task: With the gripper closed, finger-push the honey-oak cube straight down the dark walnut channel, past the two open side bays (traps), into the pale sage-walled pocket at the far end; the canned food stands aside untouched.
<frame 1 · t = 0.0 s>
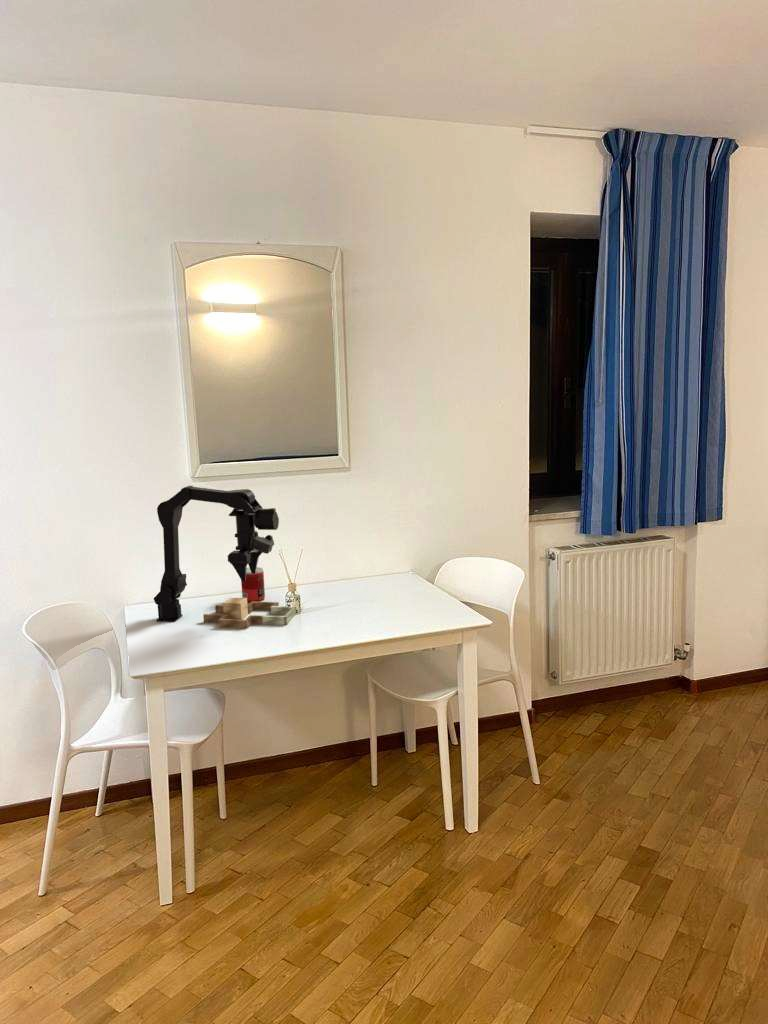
hand: (248, 577, 243), 15 cm above the table, fingers open, 9 cm apart
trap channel: (250, 618, 249), on the table
canned food: (253, 600, 269), on the table
block: (236, 618, 250), resting in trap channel
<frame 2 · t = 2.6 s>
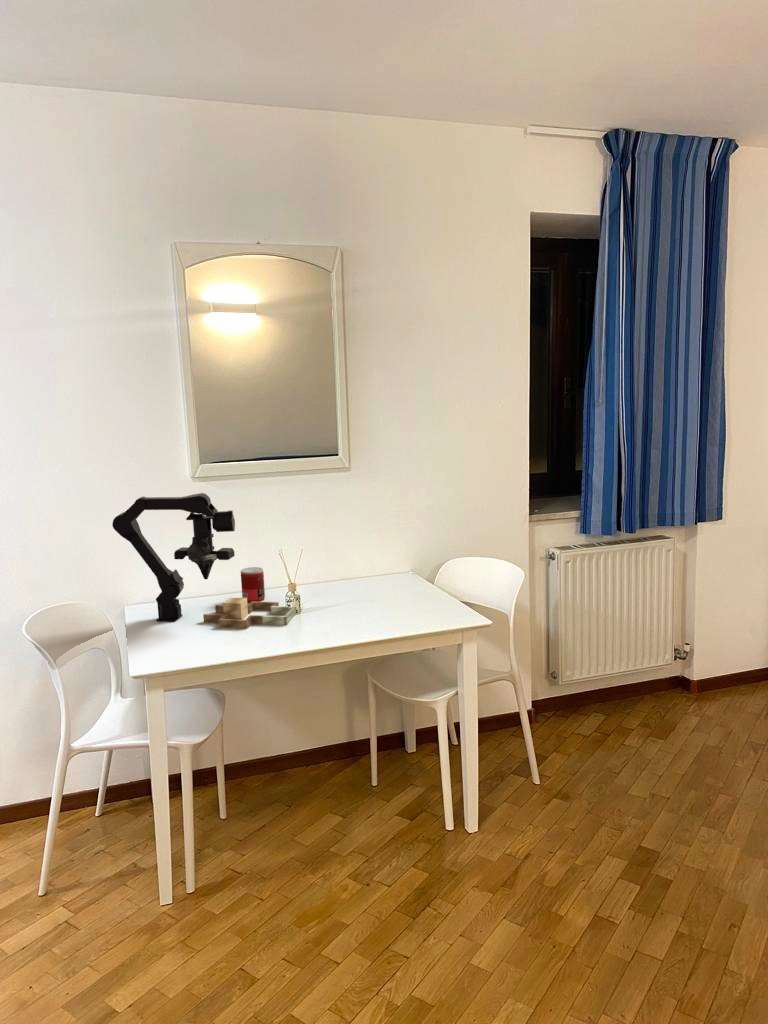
hand: (206, 579, 249), 13 cm above the table, fingers closed
nothing on the table moved.
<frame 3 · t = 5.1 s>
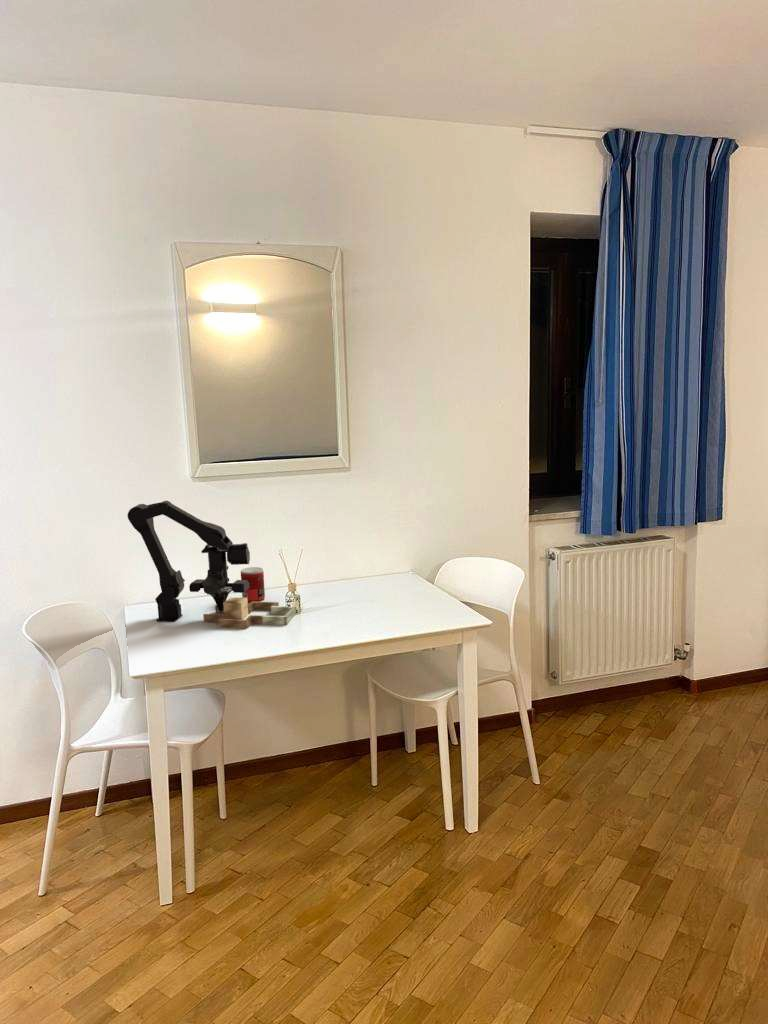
hand: (221, 611, 250), 2 cm above the table, fingers closed
block: (236, 617, 250), resting in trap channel, touching gripper
everything else where it was.
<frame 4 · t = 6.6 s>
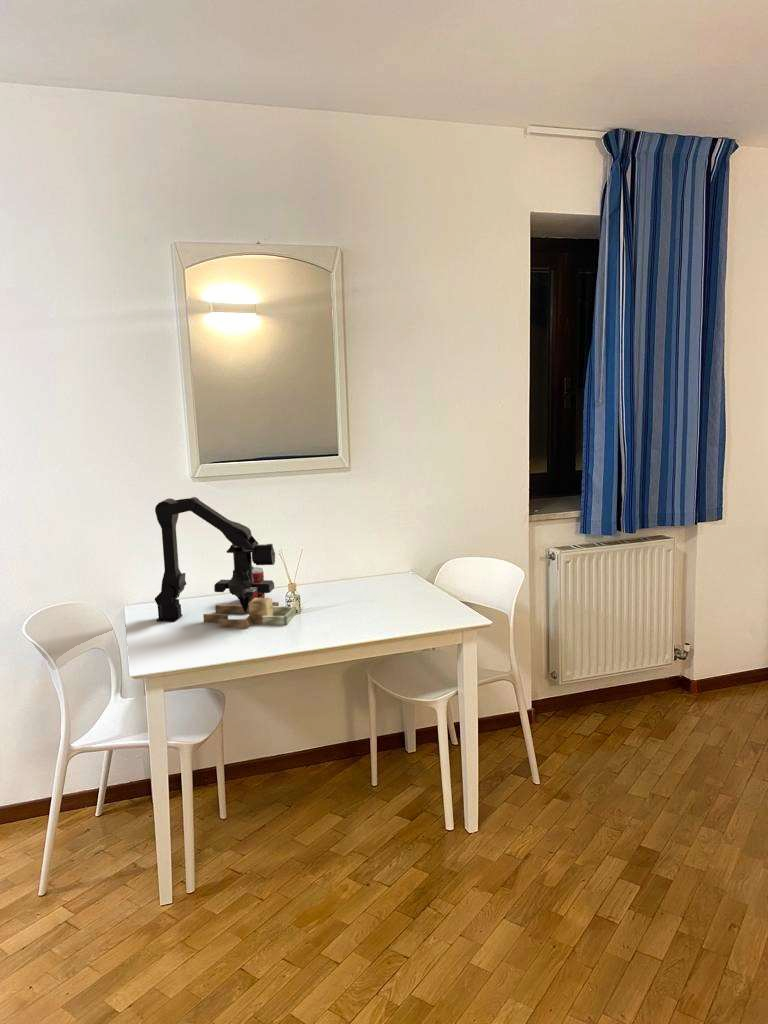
hand: (246, 611, 249), 2 cm above the table, fingers closed
block: (261, 618, 248), resting in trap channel, touching gripper
everything else where it was.
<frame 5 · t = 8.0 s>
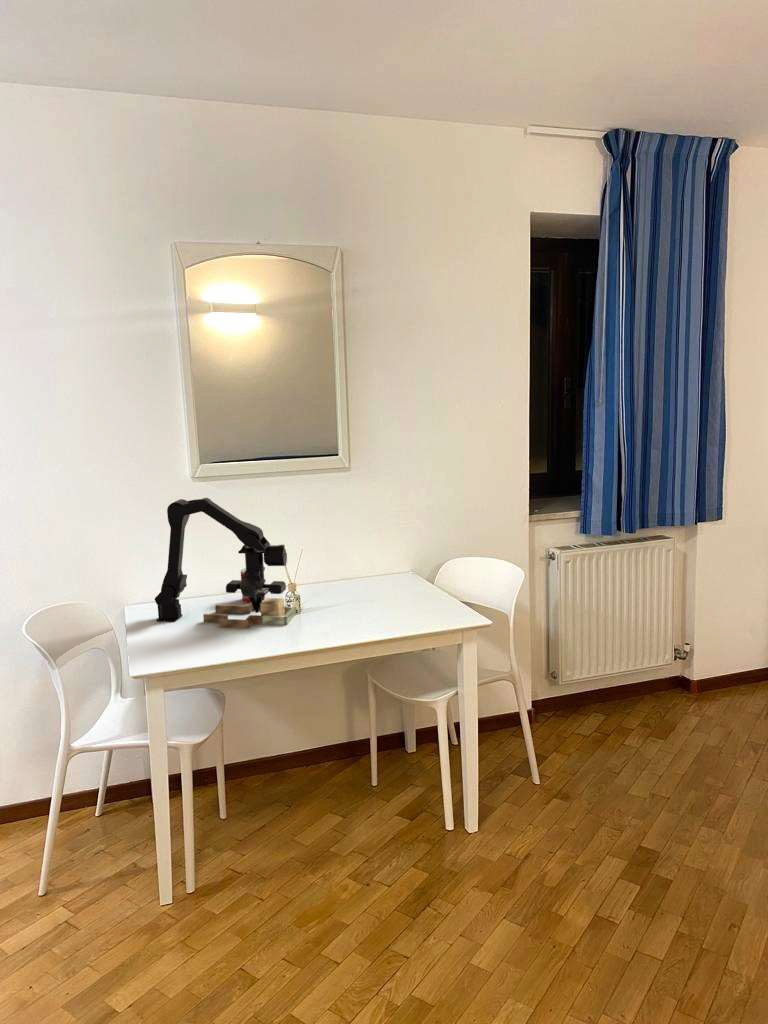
hand: (257, 612, 248), 2 cm above the table, fingers closed
block: (273, 618, 248), resting in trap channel, touching gripper
everything else where it was.
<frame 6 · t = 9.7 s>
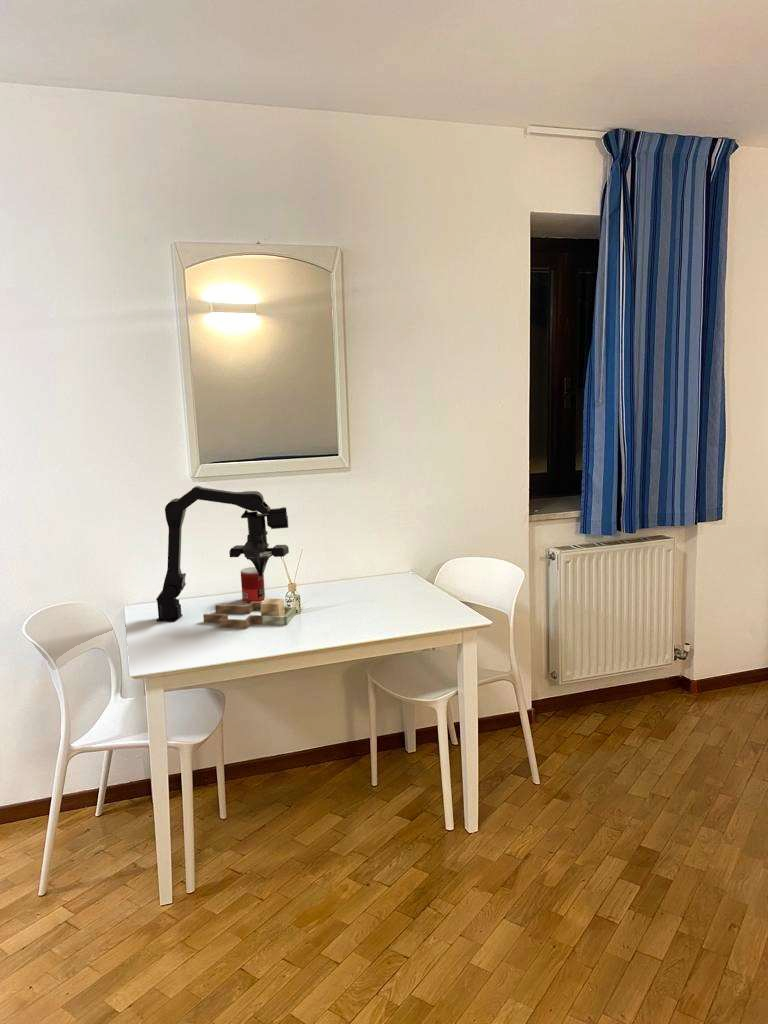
hand: (261, 576, 251), 13 cm above the table, fingers closed
block: (273, 619, 248), resting in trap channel
everything else where it was.
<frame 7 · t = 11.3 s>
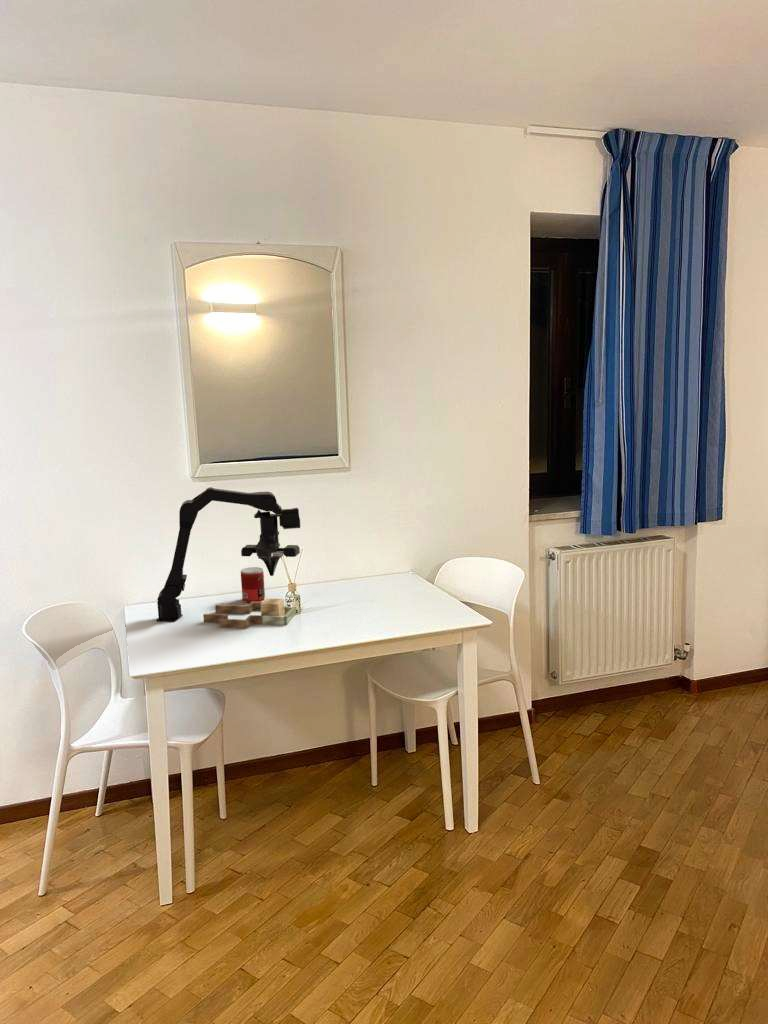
hand: (272, 575, 255), 12 cm above the table, fingers closed
nothing on the table moved.
at the end: block inside the target area (0.5 cm from its centre), resting in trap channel; block tilted 0°; the gripper is holding nothing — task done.
